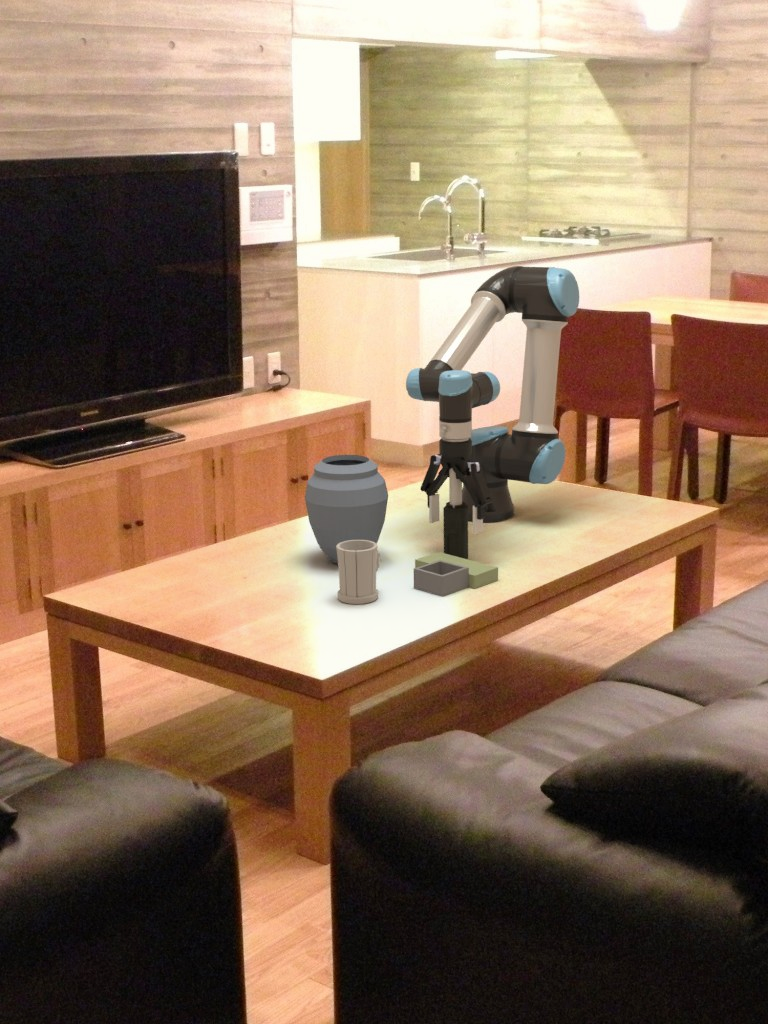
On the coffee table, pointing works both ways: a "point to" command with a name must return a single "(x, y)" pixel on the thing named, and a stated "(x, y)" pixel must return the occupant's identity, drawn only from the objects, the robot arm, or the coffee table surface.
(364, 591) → the cup
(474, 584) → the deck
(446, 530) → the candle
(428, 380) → the robot arm
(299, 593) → the coffee table surface
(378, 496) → the vase
